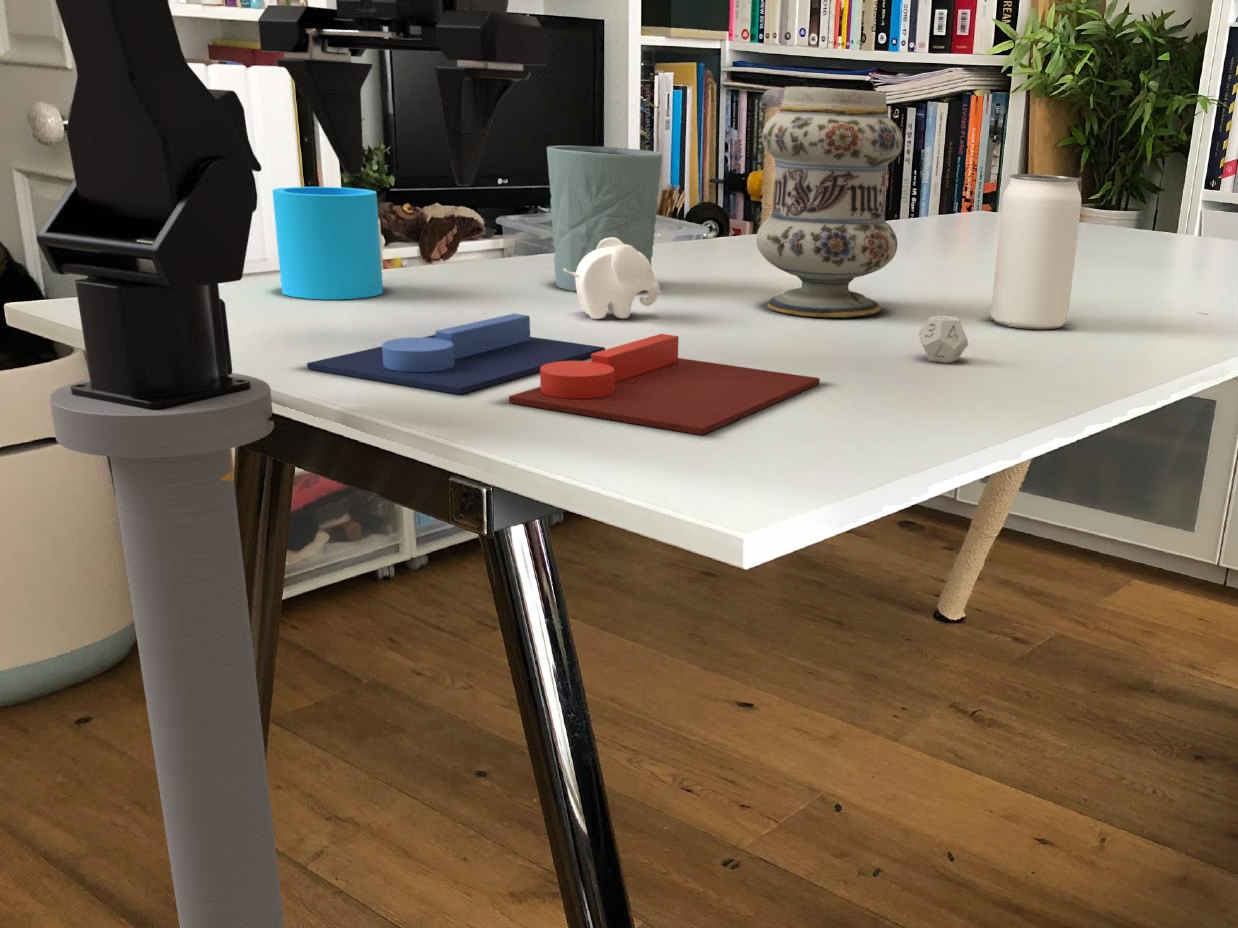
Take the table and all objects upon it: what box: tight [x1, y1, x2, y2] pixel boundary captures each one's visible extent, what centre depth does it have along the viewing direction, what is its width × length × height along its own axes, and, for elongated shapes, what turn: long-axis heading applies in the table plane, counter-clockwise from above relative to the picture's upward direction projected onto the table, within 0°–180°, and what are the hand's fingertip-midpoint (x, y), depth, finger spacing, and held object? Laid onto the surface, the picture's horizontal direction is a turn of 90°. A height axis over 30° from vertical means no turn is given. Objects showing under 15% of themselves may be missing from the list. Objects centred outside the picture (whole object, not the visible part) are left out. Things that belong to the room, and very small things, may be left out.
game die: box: [918, 315, 969, 364], centre depth 95 cm, size 4×4×3 cm
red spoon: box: [539, 333, 679, 399], centre depth 82 cm, size 13×4×2 cm, turn 155°
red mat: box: [508, 357, 820, 436], centre depth 81 cm, size 16×13×1 cm
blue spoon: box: [381, 313, 531, 373], centre depth 87 cm, size 13×4×2 cm, turn 155°
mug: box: [272, 186, 384, 300], centre depth 111 cm, size 12×8×8 cm
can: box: [990, 173, 1082, 331], centre depth 110 cm, size 6×6×12 cm
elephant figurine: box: [563, 237, 664, 320], centre depth 105 cm, size 7×8×6 cm
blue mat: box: [306, 334, 606, 395], centre depth 87 cm, size 16×12×1 cm
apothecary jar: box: [755, 85, 904, 319], centre depth 111 cm, size 12×12×18 cm
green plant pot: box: [546, 145, 663, 292], centre depth 118 cm, size 10×10×12 cm
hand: (408, 180), depth 85 cm, fingers open, 9 cm apart
